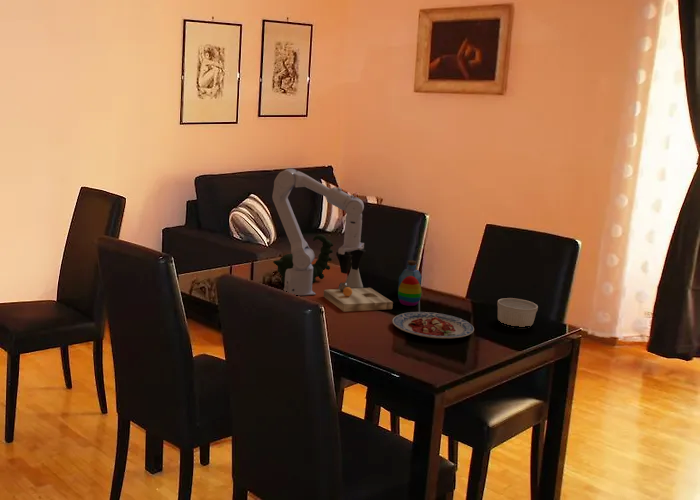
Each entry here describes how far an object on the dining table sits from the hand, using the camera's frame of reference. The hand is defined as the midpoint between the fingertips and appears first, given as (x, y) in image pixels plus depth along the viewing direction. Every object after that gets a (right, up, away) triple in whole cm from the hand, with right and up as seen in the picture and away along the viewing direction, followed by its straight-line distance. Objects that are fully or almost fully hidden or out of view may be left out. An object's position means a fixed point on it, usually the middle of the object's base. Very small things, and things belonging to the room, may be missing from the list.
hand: (349, 271), depth 281 cm
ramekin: (+55, -17, -13) cm, 59 cm away
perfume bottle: (+22, -9, +15) cm, 28 cm away
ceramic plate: (+26, -18, -27) cm, 42 cm away
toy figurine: (-18, -5, +18) cm, 26 cm away
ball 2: (-1, -7, -6) cm, 9 cm away
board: (+3, -11, -3) cm, 12 cm away
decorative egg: (+21, -12, +1) cm, 24 cm away
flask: (+1, -7, +16) cm, 18 cm away
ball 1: (-2, -6, 0) cm, 6 cm away
